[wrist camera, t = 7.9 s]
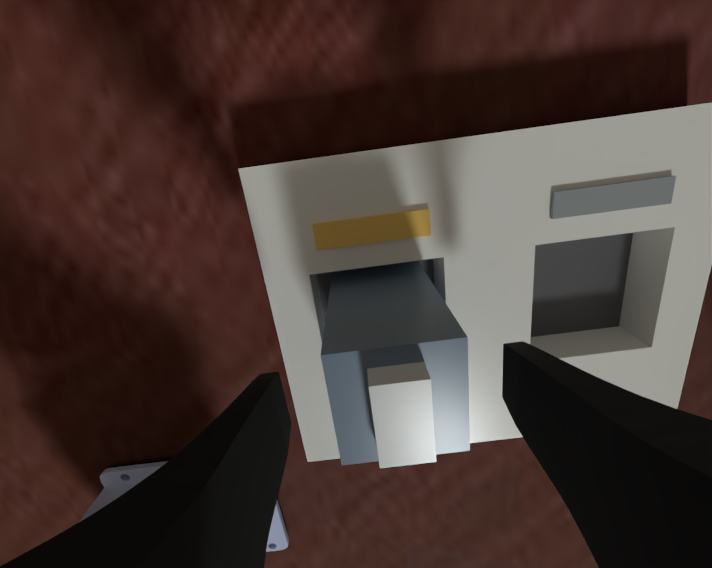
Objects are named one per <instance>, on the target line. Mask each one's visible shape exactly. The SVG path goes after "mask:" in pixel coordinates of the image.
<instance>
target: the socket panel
mask: <svg viewBox="0 0 712 568" xmlns="http://www.w3.org/2000/svg"><path fill="white" fill-rule="evenodd" d="M238 170H239V174H240V178H241V183H242V187H243V191H244V195H245V200H246V204H247V208H248V212H249V216H250V221H251V225H252V229H253V233H254V238H255V242H256V246H257V250H258V254H259V259H260V263H261V267H262V271H263V276H264V280H265V284H266V288H267V292H268V297H269V301H270V305H271V309H272V313H273V318H274V322H275V326H276V330H277V335H278V339H279V343H280V347H281V351H282V356H283V360H284V364H285V368H286V373H287V377H288V381H289V385H290V389H291V394H292V398H293V402H294V406H295V411H296V415H297V419H298V423H299V427H300V432H301V436H302V440H303V444H304V449H305V453H306V457H307V461H308V462H312V461H320V460H329V459H338V458H340V454H339V449H338V444H337V439H336V433H335V428H334V423H333V418H332V413H331V407H330V402H329V397H328V392H327V387H326V381H325V376H324V371H323V366H322V361H321V348H322V341H323V334H324V327H325V320H326V312H327V305H328V298H329V291H330V284H331V276H332V273H336V272H344V271H351V270H359V269H367V268H374V267H382V266H390V265H397V264H405V263H413V262H419V263H420V265H421V266H422V268H423V269H424V271H425V272H426V274H427V275H428V277H429V278H430V280H431V282H432V283H433V285H434V286H435V288H436V289H437V291H438V292H439V294H440V295H441V297H442V298H443V300H444V302H445V303H446V305H447V306H448V308H449V309H450V311H451V312H452V314H453V315H454V317H455V318H456V320H457V321H458V323H459V325H460V326H461V328H462V329H463V331H464V332H465V334H466V335H467V337H468V378H469V429H470V443H475V442H484V441H493V440H501V439H510V438H519V437H523V436H522V435H521V433H520V432H519V430H518V428H517V427H516V425H515V423H514V421H513V419H512V417H511V415H510V413H509V411H508V408H507V406H506V404H505V402H504V400H503V397H502V384H503V344H505V343H513V342H521V341H523V342H526V343H528V344H530V345H533V346H535V347H537V348H539V349H541V350H543V351H545V352H547V353H549V354H551V355H553V356H555V357H557V358H559V359H561V360H563V361H565V362H567V363H569V364H571V365H573V366H575V367H577V368H579V369H581V370H583V371H585V372H587V373H589V374H592V375H594V376H596V377H598V378H600V379H602V380H605V381H607V382H609V383H612V384H614V385H616V386H618V387H621V388H623V389H625V390H628V391H630V392H633V393H635V394H638V395H640V396H643V397H645V398H648V399H651V400H653V401H656V402H659V403H662V404H664V405H667V406H670V407H672V408H675V409H677V408H678V404H679V399H680V395H681V391H682V387H683V383H684V379H685V374H686V370H687V366H688V362H689V358H690V353H691V349H692V345H693V341H694V337H695V333H696V328H697V324H698V320H699V316H700V312H701V308H702V303H703V299H704V295H705V291H706V287H707V282H708V278H709V274H710V270H711V266H712V103H705V104H698V105H691V106H684V107H677V108H669V109H662V110H655V111H648V112H641V113H633V114H626V115H619V116H612V117H605V118H598V119H590V120H583V121H576V122H569V123H562V124H555V125H547V126H540V127H533V128H526V129H519V130H512V131H504V132H497V133H490V134H483V135H476V136H469V137H461V138H454V139H447V140H440V141H433V142H426V143H418V144H411V145H404V146H397V147H390V148H383V149H375V150H368V151H361V152H354V153H347V154H340V155H332V156H325V157H318V158H311V159H304V160H296V161H289V162H282V163H275V164H268V165H261V166H253V167H246V168H239V169H238Z"/></svg>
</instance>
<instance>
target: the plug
mask: <svg viewBox="0 0 712 568" xmlns="http://www.w3.org/2000/svg"><path fill="white" fill-rule="evenodd" d="M321 361H322V366H323V371H324V376H325V381H326V387H327V392H328V397H329V402H330V407H331V413H332V418H333V423H334V428H335V433H336V439H337V444H338V449H339V454H340V459H341V465H348V464H357V463H366V462H374V461H379V465H380V468H387V467H395V466H404V465H413V464H422V463H430V462H436V454H444V453H453V452H461V451H470V429H469V378H468V337H467V335H466V334H465V332H464V331H463V329H462V328H461V326H460V325H459V323H458V321H457V320H456V318H455V317H454V315H453V314H452V312H451V311H450V309H449V308H448V306H447V305H446V303H445V302H444V300H443V298H442V297H441V295H440V294H439V292H438V291H437V289H436V288H435V286H434V285H433V283H432V282H431V280H430V278H429V277H428V275H427V274H426V272H425V271H424V269H423V268H422V266H421V265H420V263H419V262H413V263H405V264H397V265H390V266H382V267H374V268H367V269H359V270H351V271H344V272H336V273H332V276H331V284H330V291H329V298H328V305H327V312H326V320H325V327H324V334H323V341H322V348H321Z"/></svg>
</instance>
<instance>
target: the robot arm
mask: <svg viewBox="0 0 712 568" xmlns="http://www.w3.org/2000/svg"><path fill="white" fill-rule="evenodd" d="M502 397H503V400H504V402H505V404H506V406H507V408H508V411H509V413H510V415H511V417H512V419H513V421H514V423H515V425H516V427H517V428H518V430H519V432H520V433H521V435H522V436H523V438H524V439H525V441H526V443H527V444H528V446H529V447H530V449H531V450H532V452H533V453H534V455H535V457H536V458H537V460H538V461H539V463H540V464H541V466H542V467H543V469H544V470H545V472H546V473H547V475H548V477H549V478H550V480H551V481H552V483H553V484H554V486H555V487H556V489H557V490H558V492H559V494H560V495H561V497H562V499H563V500H564V502H565V504H566V505H567V507H568V509H569V510H570V512H571V514H572V516H573V518H574V520H575V522H576V524H577V526H578V527H579V529H580V531H581V533H582V535H583V537H584V539H585V541H586V543H587V545H588V546H589V548H590V550H591V552H592V554H593V556H594V558H595V560H596V562H597V564H598V566H599V568H712V420H709V419H706V418H703V417H700V416H696V415H693V414H690V413H687V412H684V411H681V410H678V409H675V408H672V407H670V406H667V405H664V404H662V403H659V402H656V401H653V400H651V399H648V398H645V397H643V396H640V395H638V394H635V393H633V392H630V391H628V390H625V389H623V388H621V387H618V386H616V385H614V384H612V383H609V382H607V381H605V380H602V379H600V378H598V377H596V376H594V375H592V374H589V373H587V372H585V371H583V370H581V369H579V368H577V367H575V366H573V365H571V364H569V363H567V362H565V361H563V360H561V359H559V358H557V357H555V356H553V355H551V354H549V353H547V352H545V351H543V350H541V349H539V348H537V347H535V346H533V345H530V344H528V343H526V342H523V341H521V342H513V343H505V344H503V384H502ZM290 428H291V420H290V416H289V412H288V408H287V404H286V400H285V396H284V392H283V388H282V384H281V380H280V375H279V372H273V373H266V374H260V375H259V376H258V377H257V378H255V379H254V380H253V382H252V383H251V384H250V385H249V386H248V387H247V388H246V389H245V390H244V391H243V392H242V393H241V394H240V395H239V396H238V397H237V398H236V399H235V400H234V401H233V402H232V403H231V404H230V405H229V406H228V407H227V408H226V409H225V411H224V412H223V413H222V414H221V415H220V416H219V417H218V418H216V419H215V420H214V421H213V422H212V423H211V424H210V425H209V426H208V427H207V428H206V429H205V430H204V431H203V432H202V433H200V434H199V435H198V436H197V437H196V438H195V439H194V440H193V441H192V442H191V443H190V444H188V445H187V446H186V447H185V448H184V449H183V450H181V451H180V452H179V453H178V454H176V455H175V456H174V457H173V458H171V459H170V460H169V461H164V462H156V463H147V464H139V465H130V466H121V467H113V468H107V469H105V470H104V471H103V472H102V474H101V475H100V481H101V483H102V484H103V486H104V489H103V490H102V492H101V493H100V494H99V496H98V497H97V498H96V500H95V501H94V503H93V504H92V505H91V507H90V508H89V509H88V511H87V512H86V513H85V515H84V516H83V518H82V519H81V520H80V522H79V523H77V524H75V525H74V526H72V527H71V528H69V529H67V530H65V531H64V532H62V533H60V534H59V535H57V536H55V537H53V538H52V539H50V540H48V541H46V542H44V543H42V544H41V545H39V546H37V547H35V548H33V549H31V550H30V551H28V552H26V553H24V554H22V555H21V556H19V557H17V558H15V559H13V560H11V561H10V562H8V563H6V564H4V565H2V566H0V568H264V562H265V555H266V552H268V551H277V550H284V549H285V548H287V547H288V543H289V538H288V534H287V531H286V528H285V524H284V521H283V517H282V514H281V510H280V507H279V504H278V500H277V497H278V493H279V489H280V485H281V481H282V476H283V472H284V468H285V463H286V459H287V455H288V447H289V439H290Z"/></svg>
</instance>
